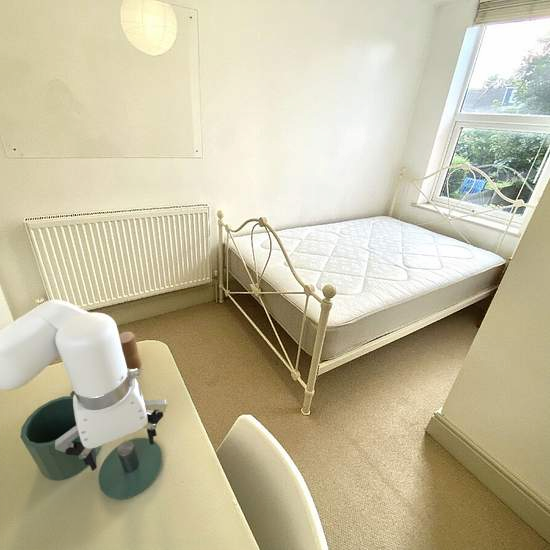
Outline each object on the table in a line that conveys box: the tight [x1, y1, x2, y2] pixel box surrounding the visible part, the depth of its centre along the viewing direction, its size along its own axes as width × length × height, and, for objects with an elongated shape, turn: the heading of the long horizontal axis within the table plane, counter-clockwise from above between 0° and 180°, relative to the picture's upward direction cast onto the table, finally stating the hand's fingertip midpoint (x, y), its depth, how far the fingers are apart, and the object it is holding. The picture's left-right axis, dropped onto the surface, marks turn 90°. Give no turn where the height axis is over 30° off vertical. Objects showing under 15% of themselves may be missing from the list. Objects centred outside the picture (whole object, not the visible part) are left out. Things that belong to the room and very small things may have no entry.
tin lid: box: [98, 437, 163, 501], centre depth 58 cm, size 11×11×7 cm
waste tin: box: [20, 395, 101, 481], centre depth 59 cm, size 10×10×10 cm
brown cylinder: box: [119, 331, 142, 370], centre depth 80 cm, size 4×4×10 cm
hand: (123, 449), depth 57 cm, fingers open, 9 cm apart
